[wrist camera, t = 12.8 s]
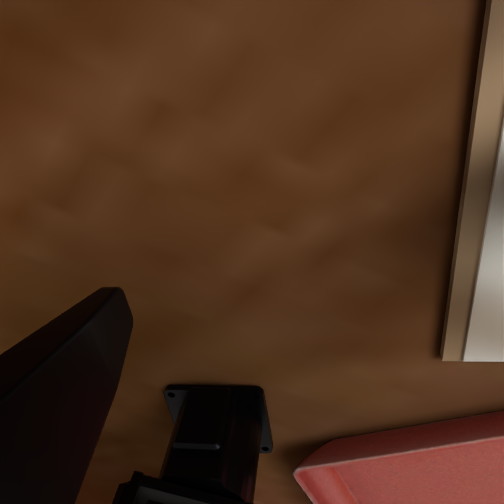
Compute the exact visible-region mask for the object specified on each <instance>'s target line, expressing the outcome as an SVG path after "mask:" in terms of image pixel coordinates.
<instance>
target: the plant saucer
mask: <svg viewBox="0 0 504 504" xmlns="http://www.w3.org/2000/svg"><path fill="white" fill-rule="evenodd" d="M293 476H294V478H295V479H296V481H297V482H298V484H299V485H300V486H301V487H302V489H303V490H304V492H305V493H306V494H307V496H308V497H309V498H310V500H311V501H312V502H313V504H504V411H498V412H492V413H486V414H480V415H474V416H469V417H463V418H457V419H451V420H445V421H439V422H433V423H427V424H421V425H416V426H410V427H404V428H398V429H392V430H386V431H380V432H374V433H368V434H362V435H356V436H351V437H345V438H339V439H334V440H332V441H330V442H328V443H326V444H325V445H323V446H322V447H320V448H319V449H317V450H316V451H314V452H313V453H312V454H310V455H309V456H308V457H306V458H305V459H304V460H303V461H302V462H301V463H300V464H299V465H298V466H297V467H296V468H295V469H294V472H293Z"/></svg>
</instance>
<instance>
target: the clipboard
mask: <svg viewBox="0 0 504 504" xmlns="http://www.w3.org/2000/svg"><path fill="white" fill-rule="evenodd" d="M440 354H441V358H442V361H488V362H504V0H487V1H486V8H485V16H484V23H483V31H482V39H481V46H480V54H479V61H478V69H477V77H476V84H475V92H474V99H473V107H472V115H471V122H470V130H469V137H468V145H467V153H466V160H465V168H464V175H463V183H462V191H461V198H460V206H459V213H458V221H457V229H456V236H455V244H454V251H453V259H452V266H451V274H450V282H449V289H448V297H447V304H446V312H445V320H444V327H443V335H442V342H441V350H440Z"/></svg>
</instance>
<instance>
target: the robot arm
mask: <svg viewBox="0 0 504 504" xmlns="http://www.w3.org/2000/svg"><path fill="white" fill-rule="evenodd" d="M132 328H133V316H132V313H131V310H130V307H129V305H128V302H127V299H126V296H125V294H124V291H123V290H122V289H121V288H120V287H102V288H100V289H98V290H97V291H95V292H94V293H92V294H91V295H89V296H88V297H86V298H85V299H83V300H82V301H80V302H79V303H77V304H76V305H74V306H73V307H71V308H70V309H68V310H67V311H65V312H64V313H62V314H61V315H59V316H58V317H56V318H55V319H53V320H52V321H50V322H49V323H47V324H46V325H44V326H43V327H41V328H40V329H38V330H37V331H35V332H34V333H32V334H31V335H29V336H28V337H26V338H25V339H23V340H22V341H20V342H19V343H17V344H16V345H14V346H13V347H11V348H10V349H8V350H7V351H5V352H4V353H2V354H1V355H0V504H75V501H76V499H77V496H78V493H79V491H80V488H81V485H82V483H83V480H84V477H85V475H86V472H87V469H88V467H89V464H90V461H91V458H92V456H93V453H94V450H95V448H96V445H97V442H98V440H99V437H100V434H101V432H102V429H103V426H104V424H105V421H106V418H107V415H108V413H109V410H110V407H111V405H112V402H113V399H114V396H115V393H116V391H117V387H118V384H119V380H120V376H121V372H122V368H123V364H124V360H125V356H126V352H127V348H128V344H129V340H130V336H131V332H132ZM164 396H165V399H166V402H167V405H168V407H169V410H170V413H171V416H172V419H173V421H174V424H175V425H174V429H173V432H172V435H171V439H170V442H169V445H168V448H167V452H166V455H165V458H164V462H163V465H162V468H161V471H160V475H159V478H154V477H150V476H146V475H143V474H144V473H142V472H138V471H134V473H133V476H132V478H131V481H129V482H127V483H122V484H119V486H118V489H117V492H116V494H115V497H114V500H113V502H112V504H253V500H254V492H255V484H256V476H257V468H258V460H259V453H270V452H272V450H273V441H272V435H271V429H270V423H269V418H268V412H267V406H266V400H265V395H264V391H263V389H262V388H260V387H258V386H215V385H168V386H167V387H166V388H165V391H164Z"/></svg>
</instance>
